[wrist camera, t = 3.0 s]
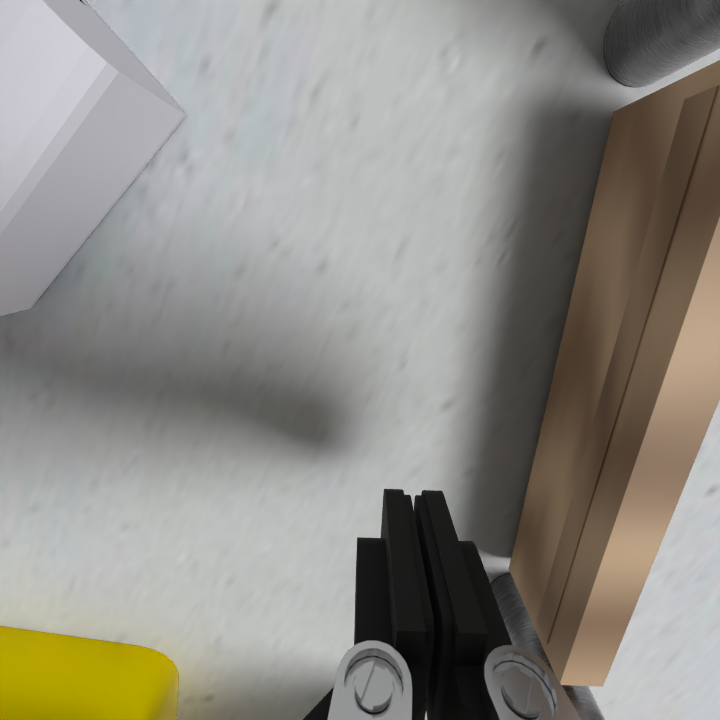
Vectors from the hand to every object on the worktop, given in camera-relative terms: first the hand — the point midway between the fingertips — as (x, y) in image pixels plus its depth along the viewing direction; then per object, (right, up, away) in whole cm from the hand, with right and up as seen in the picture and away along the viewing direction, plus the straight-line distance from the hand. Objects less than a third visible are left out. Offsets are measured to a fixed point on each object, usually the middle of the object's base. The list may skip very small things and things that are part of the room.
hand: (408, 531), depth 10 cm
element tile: (-20, -16, +12) cm, 28 cm away
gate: (+7, +4, +3) cm, 8 cm away
